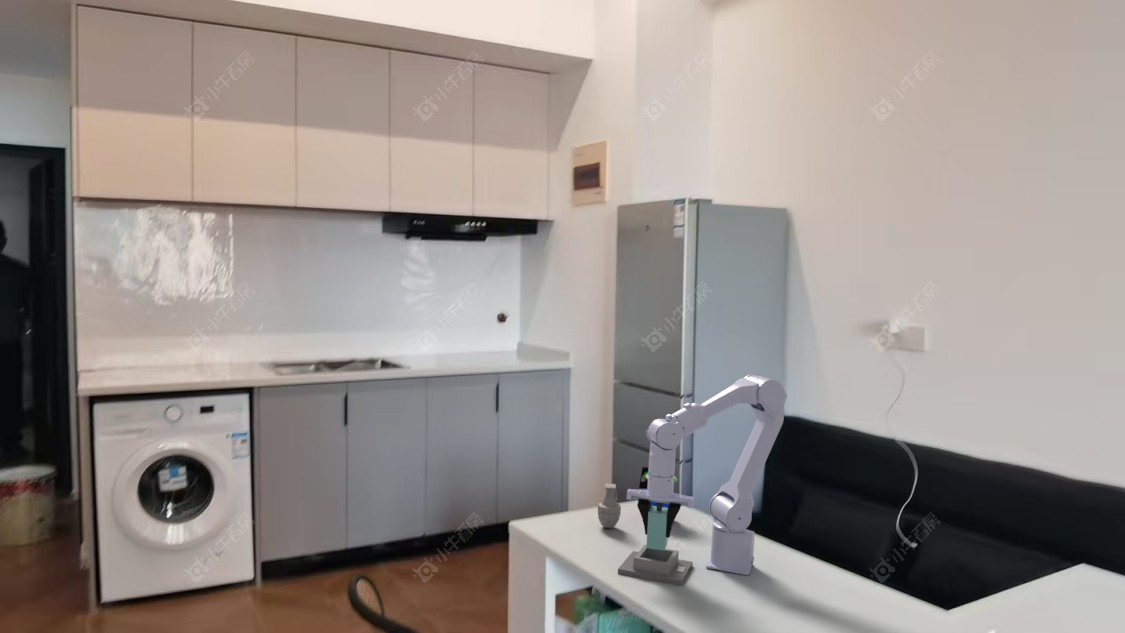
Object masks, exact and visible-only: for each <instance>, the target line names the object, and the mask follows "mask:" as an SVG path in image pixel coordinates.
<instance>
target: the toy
mask: <svg viewBox="0 0 1125 633" xmlns="http://www.w3.org/2000/svg"><path fill="white" fill-rule="evenodd" d="M648 470H649V466H648V467H647V466H643V467H642V468H641V472H640V473H641V475H640V478H639V479H640V480H639V484H638V485H639V486H638V489H642V490H647V488H648ZM677 482H678V478H677V477H676V476H675V475H674V484H675V483H677ZM669 505H670V504H665V503H662V507H665V508H668V506H669ZM651 506H657V502H651Z"/></svg>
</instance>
